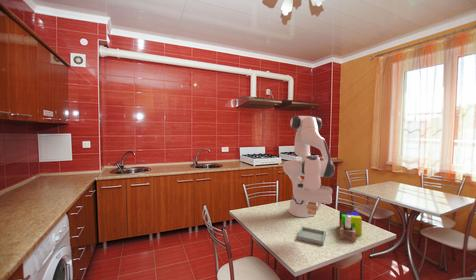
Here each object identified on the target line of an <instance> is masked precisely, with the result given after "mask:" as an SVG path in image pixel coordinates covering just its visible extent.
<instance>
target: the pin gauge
mask: <svg viewBox="0 0 476 280" xmlns="http://www.w3.org/2000/svg"><path fill="white" fill-rule="evenodd" d="M345 229H346V230H351V216H349V215H346V216H345Z"/></svg>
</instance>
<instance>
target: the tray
mask: <svg viewBox="0 0 476 280" xmlns="http://www.w3.org/2000/svg"><path fill="white" fill-rule="evenodd" d="M326 232H327V231H325V230H321V229H316V228H311V227H306V226H301V228H300V230H299V232H298V234H297V236H296V240H297V241H302V242H305V243H309V244H315V245H319V246H324V243H325V238H326V236H327V235H326Z"/></svg>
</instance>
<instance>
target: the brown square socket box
mask: <svg viewBox="0 0 476 280" xmlns="http://www.w3.org/2000/svg"><path fill="white" fill-rule="evenodd" d="M339 233H340V234H339V235H340V237H339V239H342V240H346V241H350V242H357V241H356V240H357V235H356V227H352V226H351V230H346V229H345V225H341V227H340V226H339Z"/></svg>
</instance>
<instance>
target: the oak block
mask: <svg viewBox="0 0 476 280" xmlns="http://www.w3.org/2000/svg"><path fill="white" fill-rule="evenodd" d="M316 206H317V202H310V201H309V202H308V214H311V215H314V216H316V214H317V210H316Z"/></svg>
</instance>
